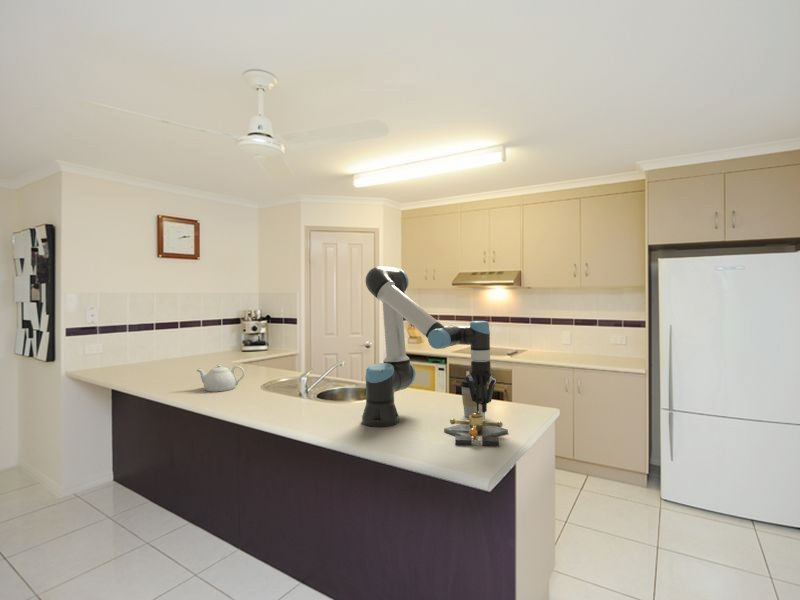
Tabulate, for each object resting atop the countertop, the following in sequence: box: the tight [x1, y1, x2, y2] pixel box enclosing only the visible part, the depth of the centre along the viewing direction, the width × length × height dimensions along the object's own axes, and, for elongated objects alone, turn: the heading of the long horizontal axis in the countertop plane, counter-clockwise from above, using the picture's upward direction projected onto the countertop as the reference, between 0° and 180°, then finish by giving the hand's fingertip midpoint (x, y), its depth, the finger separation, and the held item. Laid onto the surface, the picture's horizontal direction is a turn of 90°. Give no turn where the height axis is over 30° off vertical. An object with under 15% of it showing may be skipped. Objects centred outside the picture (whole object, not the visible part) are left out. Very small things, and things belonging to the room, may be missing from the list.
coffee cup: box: [459, 379, 479, 418], centre depth 193 cm, size 9×9×15 cm
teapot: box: [196, 364, 245, 393], centre depth 249 cm, size 19×18×14 cm
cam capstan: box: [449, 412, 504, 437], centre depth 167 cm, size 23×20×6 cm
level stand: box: [443, 424, 509, 447], centre depth 165 cm, size 25×24×2 cm
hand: (482, 420), depth 175 cm, fingers closed
